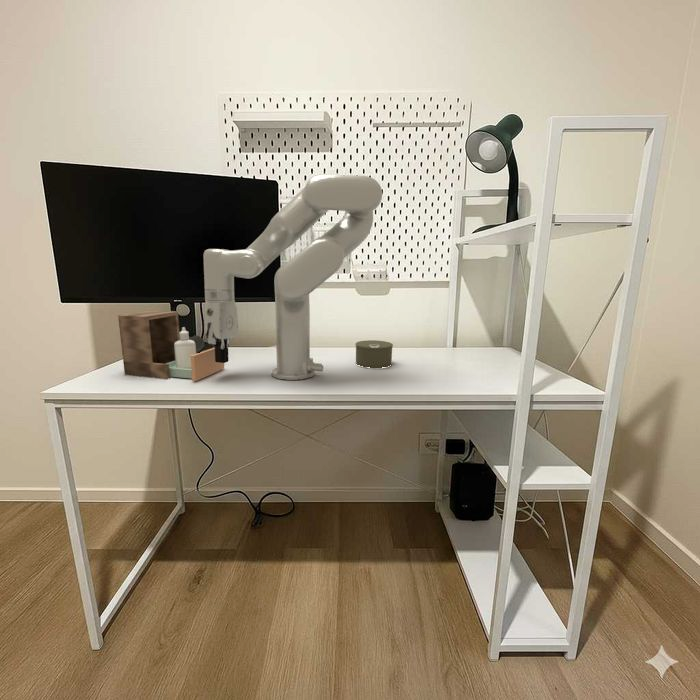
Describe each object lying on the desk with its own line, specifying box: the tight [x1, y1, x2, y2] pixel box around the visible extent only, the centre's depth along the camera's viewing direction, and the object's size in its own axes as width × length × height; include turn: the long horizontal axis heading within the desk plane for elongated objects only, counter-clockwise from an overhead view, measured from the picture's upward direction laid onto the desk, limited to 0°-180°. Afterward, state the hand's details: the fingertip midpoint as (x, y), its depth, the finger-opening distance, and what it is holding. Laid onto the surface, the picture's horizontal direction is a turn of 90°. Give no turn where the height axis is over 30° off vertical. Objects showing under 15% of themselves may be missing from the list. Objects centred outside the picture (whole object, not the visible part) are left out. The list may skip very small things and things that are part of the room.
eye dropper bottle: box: [174, 326, 196, 369], centre depth 112 cm, size 4×6×12 cm
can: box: [355, 340, 394, 368], centre depth 126 cm, size 12×12×7 cm
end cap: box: [180, 334, 206, 354], centre depth 133 cm, size 10×7×7 cm
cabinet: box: [117, 309, 180, 380], centre depth 114 cm, size 14×13×17 cm
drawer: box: [166, 347, 225, 382], centre depth 112 cm, size 14×14×7 cm
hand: (221, 361), depth 109 cm, fingers closed
